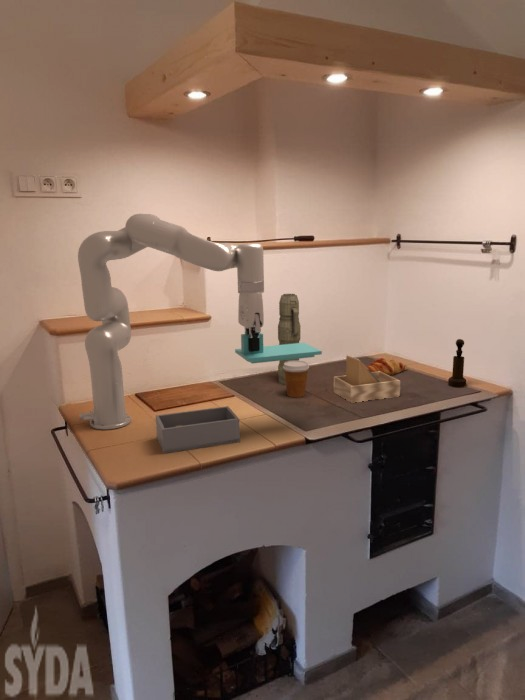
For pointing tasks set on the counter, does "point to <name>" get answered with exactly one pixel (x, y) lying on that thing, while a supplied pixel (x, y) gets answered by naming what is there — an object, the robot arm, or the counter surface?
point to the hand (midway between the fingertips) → (252, 349)
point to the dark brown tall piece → (458, 367)
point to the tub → (197, 429)
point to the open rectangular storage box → (368, 388)
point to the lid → (275, 351)
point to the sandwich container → (358, 373)
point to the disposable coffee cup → (296, 377)
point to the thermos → (288, 327)
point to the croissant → (387, 366)
